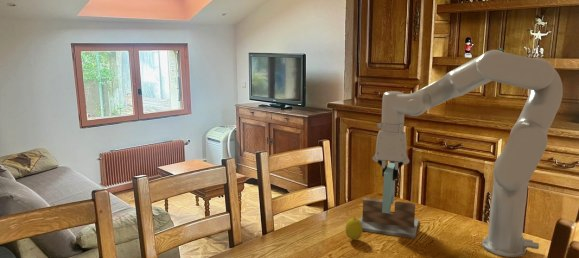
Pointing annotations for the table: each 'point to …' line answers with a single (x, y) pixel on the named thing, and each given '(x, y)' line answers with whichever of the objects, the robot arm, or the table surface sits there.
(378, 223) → the base
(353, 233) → the lemon
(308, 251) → the table surface
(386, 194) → the notched plate
